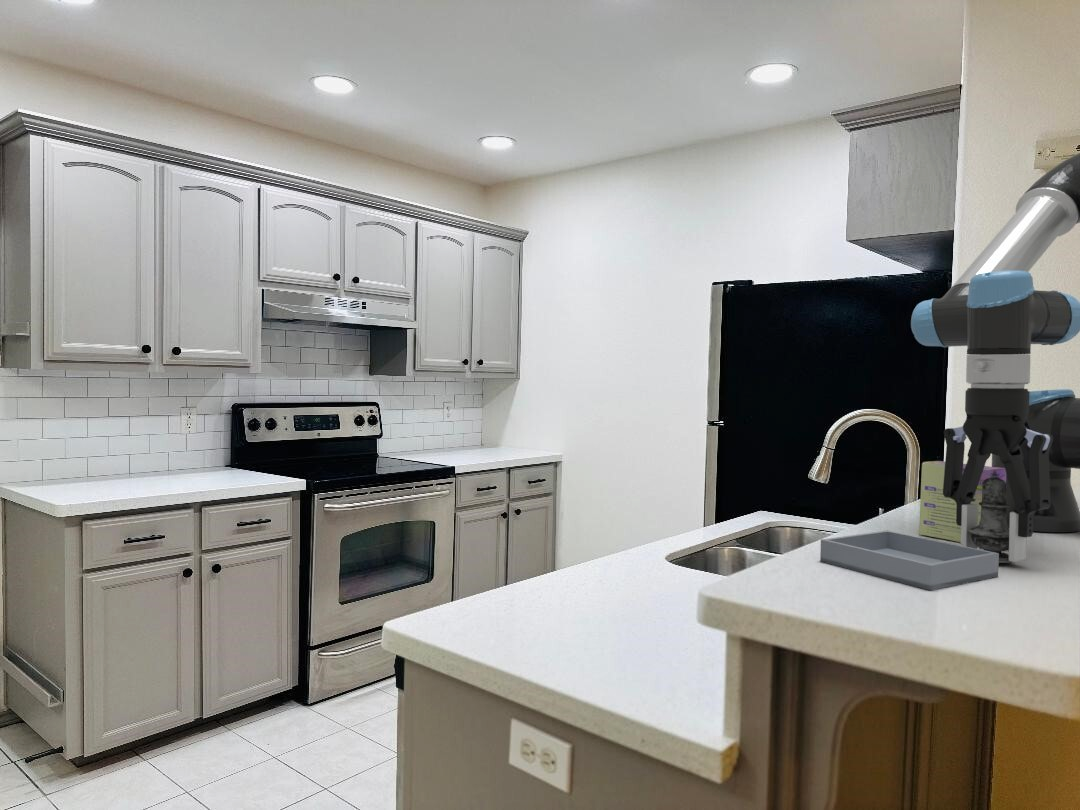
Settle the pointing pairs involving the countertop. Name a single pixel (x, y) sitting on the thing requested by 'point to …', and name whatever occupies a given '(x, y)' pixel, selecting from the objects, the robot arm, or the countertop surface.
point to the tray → (910, 559)
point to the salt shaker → (993, 519)
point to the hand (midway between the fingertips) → (992, 554)
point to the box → (945, 501)
